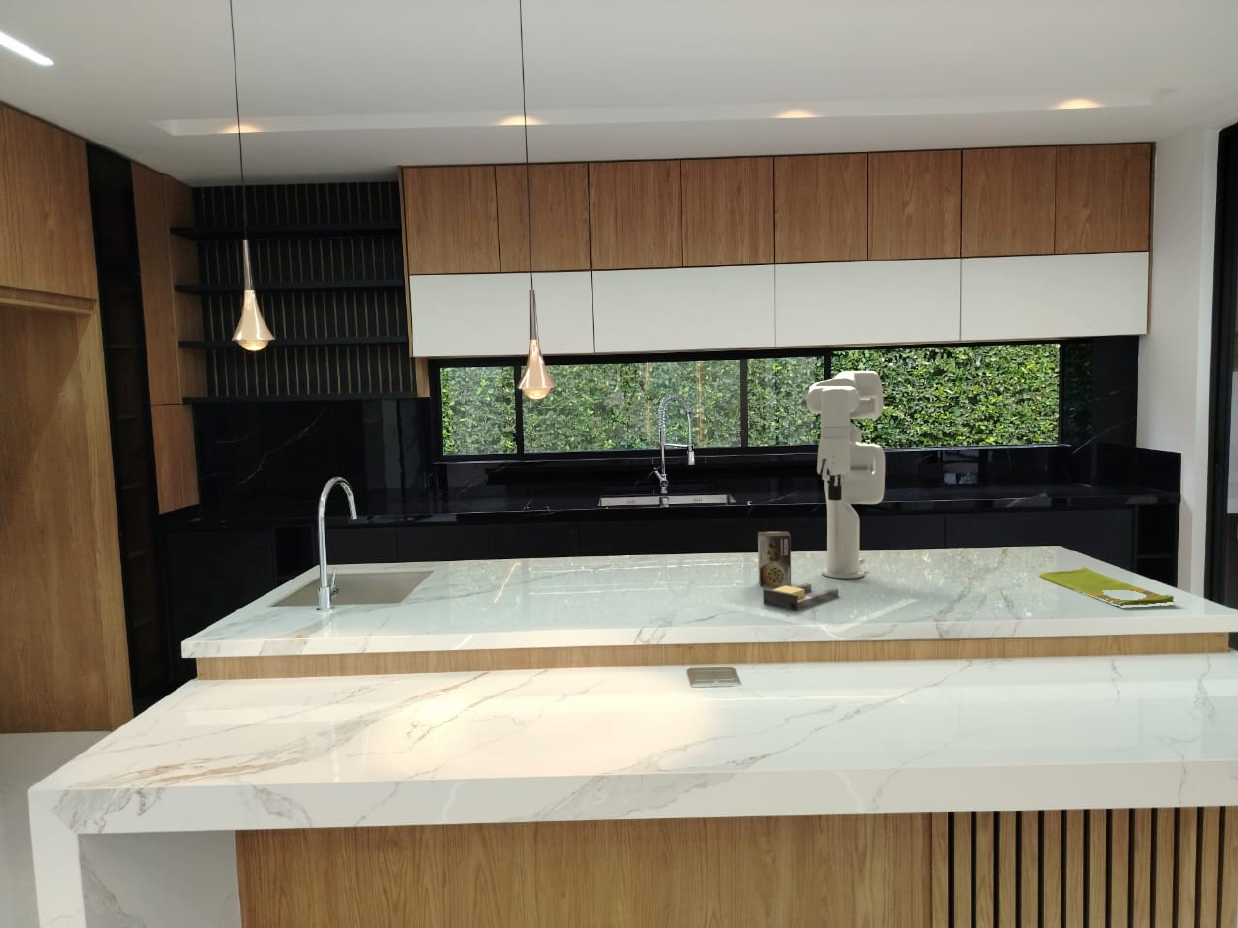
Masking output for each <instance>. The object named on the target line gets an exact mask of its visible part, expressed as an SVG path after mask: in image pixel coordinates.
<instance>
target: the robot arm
mask: <svg viewBox="0 0 1238 928" xmlns="http://www.w3.org/2000/svg"><path fill="white" fill-rule="evenodd" d="M807 391H808V392H807V394H806V406H807V409H808V411H809V412H810V413H813V414H820V440H819V444H818V450H817V463H816V464H817V466H816V472H817V474H818V475H820V476H821V475H822V477H821V480H823V482H824V486H823V487H824V488H823V489H824V494H825V502H826V516H827V517H826V524H827V525H826V526H827V528H826V530H827V531H826V532H827V533H826V534H827V535H826V554H827V555H826V563H827V564H826V567H824V568H822V569H821V574H822V575H823V576H825V577H827V578H828V577H829V578H832V579H833V578H834V579H844V580H846V579H847V580H850V579H858V578H861V577H864V576H865V570H863V569H861V568H860V566H861V565H864V564H865V563H866V559H865V558H864V557H860V517H859V514H858V513H857V511H856V510H855V508H853V506H852V505H858V504H859V505H860V504H861V505H877V504H879V503H881V502H882V501H883V499H884V496H885V489H886V487H885V485H886V484H885V482H886V480H885V479H886V455H885V451H884V449H883V447H882V446H880V445H878V444H873V443H872V444H871V443H869V444H868V443H865V444H864V443H862V434H861V432H860V430H859V429H858V427H856V425H855V424H854V423H852V422H851V421H850V420H851V419H855V420H856V419H857V420H860V419H861V420H864V419H865V420H867V419H869V420H870V419H873V420H874V419H877V418H880V417H881V416H882V414H883V412H884V411H883V410H884V396H883V384H882V380H881V378H880V375H879V374H878V373H877V372H876V371H873V370H857V371H856V370H851V371H850V370H849V371H848V370H847V371H842V372H841V371H840V372H839V373H837V374H836V375H835V376H834V377H833V378H831V379H827V380H823V381H819V382H815V383H813V384H812V385H810V387H809V389H808V390H807Z"/></svg>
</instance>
